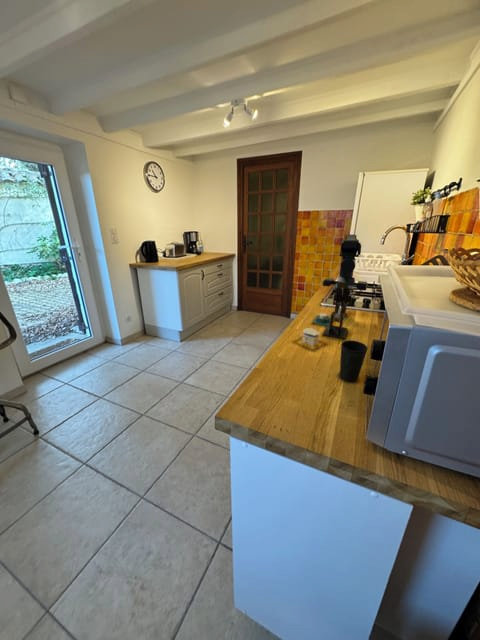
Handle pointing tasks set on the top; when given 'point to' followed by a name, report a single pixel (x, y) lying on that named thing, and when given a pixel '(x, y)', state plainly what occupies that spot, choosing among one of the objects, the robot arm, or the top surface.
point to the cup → (351, 360)
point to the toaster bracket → (335, 328)
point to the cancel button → (323, 316)
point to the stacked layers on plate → (310, 336)
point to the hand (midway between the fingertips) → (342, 301)
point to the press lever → (339, 311)
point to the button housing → (322, 321)
